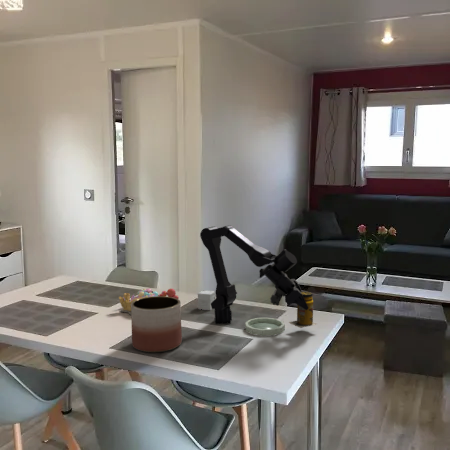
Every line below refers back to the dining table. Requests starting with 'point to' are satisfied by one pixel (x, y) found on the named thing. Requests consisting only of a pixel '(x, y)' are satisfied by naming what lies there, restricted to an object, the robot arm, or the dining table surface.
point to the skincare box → (205, 299)
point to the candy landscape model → (144, 293)
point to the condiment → (305, 312)
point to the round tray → (264, 326)
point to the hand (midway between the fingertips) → (306, 306)
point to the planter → (156, 323)
